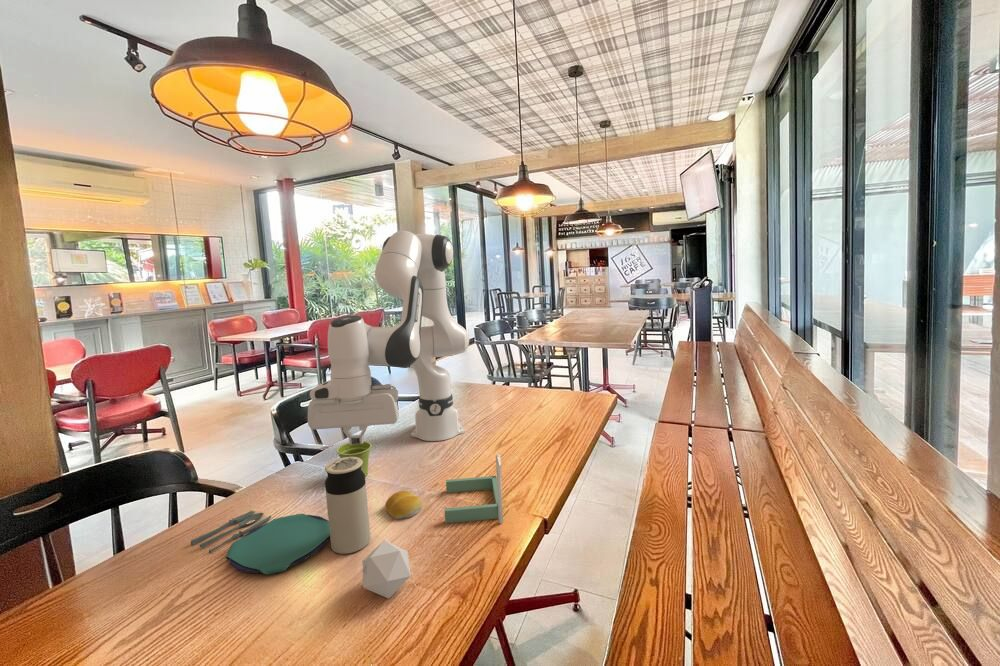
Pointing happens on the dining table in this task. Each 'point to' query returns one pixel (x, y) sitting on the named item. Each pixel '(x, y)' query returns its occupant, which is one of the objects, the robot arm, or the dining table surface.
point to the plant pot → (356, 453)
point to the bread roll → (403, 505)
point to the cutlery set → (272, 541)
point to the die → (386, 569)
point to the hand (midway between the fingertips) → (356, 443)
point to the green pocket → (480, 510)
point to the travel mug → (347, 505)
